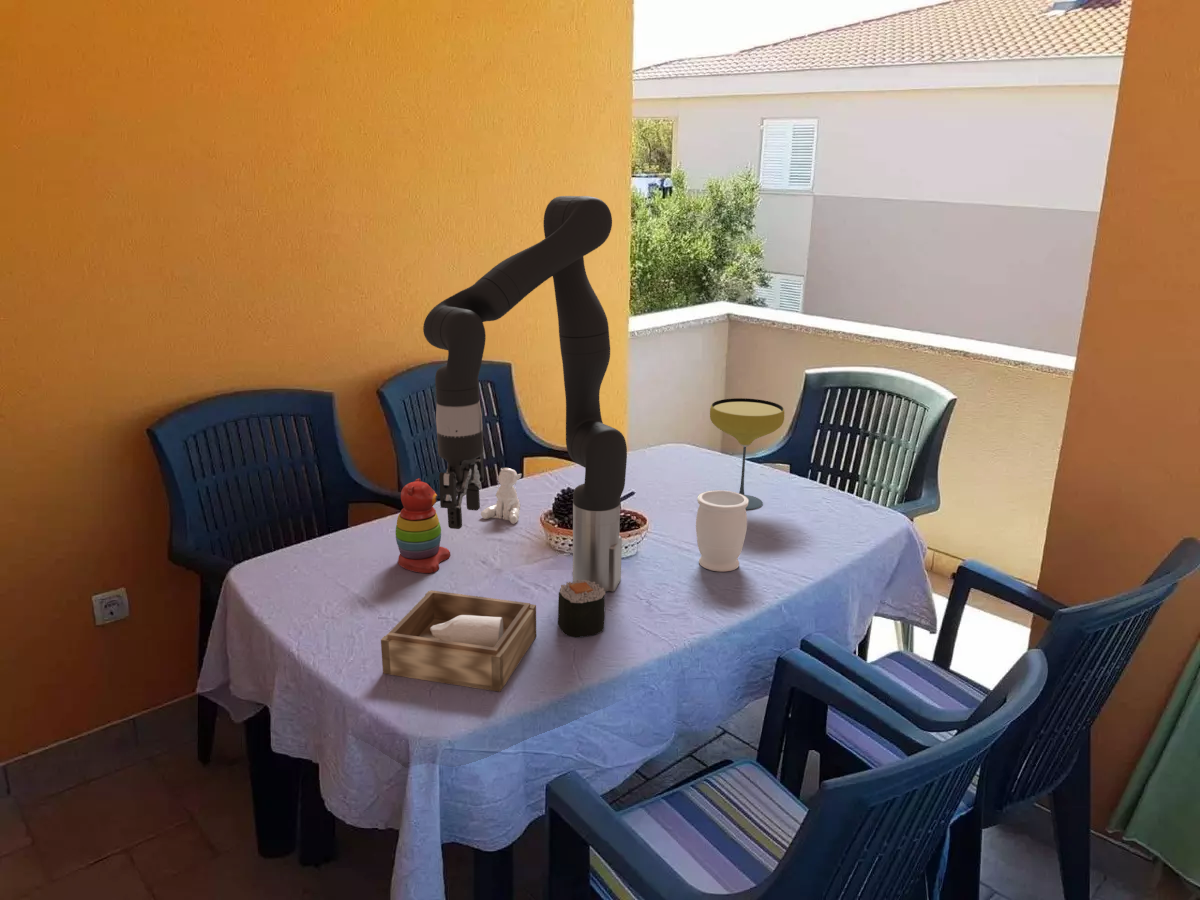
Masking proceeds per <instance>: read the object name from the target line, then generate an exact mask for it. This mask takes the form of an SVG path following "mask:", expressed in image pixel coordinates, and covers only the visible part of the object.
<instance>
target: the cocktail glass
mask: <svg viewBox="0 0 1200 900" xmlns="http://www.w3.org/2000/svg"><path fill="white" fill-rule="evenodd" d="M709 419H710V421H711V423H712V424H713V426H715V427H716V428H717V429H719V430H721V432H724V433H725V434H727V435H730V436H731V437H733V438H734V439H736V441H737V442H738V443H739V444H740V446H742V448H743V449H742V465H741V466H742V467H741V478H740V480H741V481H740V486H739V487H740V488H739V492H738V493H739V494H742V495H744V496H746V497H747V498H748V500H749V501H748V506H747V507H746V508H745V509H746V511H752V510H757V509H759V507H760V508H761V507H762V506H763V504H764V503H763V501H762V499H760V498H758V497H756V496H753V495H750V494H745V469H746V467H745V465H746V453H747V451H746V450H747V447H749V446H750V445H751V444H752V443H753V442H754V441H755V440H757V439H759V438H761V437H764V436H767V435H769V434H772V433H774V432H776V431H777V430H778V429H780V428H781V427H782V425H783V424H784V421H785V409H784V407H783V406H782V405H780V404H778V403H776V402H773V401H770V400H763V399H759V398H745V397H744V398H742V397H738V398H734V397H733V398H725V399H721V400H716V401H714V402H712V403H711V406H710V408H709Z"/></svg>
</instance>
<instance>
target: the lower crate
mask: <svg viewBox="0 0 1200 900" xmlns="http://www.w3.org/2000/svg"><path fill="white" fill-rule="evenodd" d="M430 591H431V590H428V591H427V592H426V593H425V595H424V596H423V597H422V598H421V599H420V600H419V601H418V602H417V603H416V604H415V605H414V607H415V606H416V605H417V604H418V603H419V602H420V601H421V600H422V599H423V598H424V597H425V596H426V595H427V594H428V593H429V592H430ZM414 607H412V609H413V608H414ZM394 628H395V626H394V627H393V628H392V629H391V630H390V631H389V632H388V633H387V634H386V635H384V636H382V638H381V639H380V647H381V648H380V651H381V664H382V674H385V675H391V676H396V677H403V678H410V679H415V680H422V681H427V682H428V681H429V682H435V683H441V684H449V685H453V686H461V687H467V688H473V689H479V690H487V691H493V692H499V693H501V691H502V690H503V689H504V687H505V685H507V683H508V681H509V679H510V678H511V676H512V675H513V673H514V671H515V670H516V669H517V667H518V666H519V664H520V663H521V661H522V659H523V658H524V656H525V655H526V653H527V652H528V650H529V649H530V647H531V646H532V643H533V642H534V641H535V639H536V638H537V605H536V604H531V603H530V608H529V610H528V611H527V613H526V614H525V616H524V617H523V619H522V620H521V621H520V623H519V624H518V626H517V627H516V628H515V630H514V631H513V633H512V634H511V636H510V637H509V638H508V640H507V641H506V643H505V644H504V646H503V647H502V648H501V650H500V651H499V652H498V653H497V654H485V653H478V652H471V651H465V650H458V649H451V648H444V647H437V646H431V645H424V644H417V643H410V642H403V641H397V640H391V639H390V638H388V637H387V635H388V634H389V633H390V632H391V631H392V630H393V629H394Z"/></svg>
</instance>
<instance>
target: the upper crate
mask: <svg viewBox="0 0 1200 900" xmlns="http://www.w3.org/2000/svg"><path fill="white" fill-rule="evenodd" d="M429 591H430V592H429V593H428V594H427V595H426V596H425V595H424V596H425V597H424V596H423V597H424V598H423V597H422V598H423V599H422V598H421V599H422V600H421V599H420V600H421V601H420V600H419V601H420V602H419V601H418V602H419V603H418V602H417V603H418V604H417V603H416V604H417V605H416V604H415V605H416V606H415V605H414V606H415V607H414V608H413V607H412V609H411V610H409V612H408V613H406V614H405V616H404V617H403V618H401V620H400V621H398V622H397V624H396V625H395V626H394V627H395V628H394V627H393V628H394V629H393V628H392V629H393V630H392V629H391V630H392V631H391V630H390V631H391V632H390V631H389V632H390V633H389V632H388V633H389V634H388V633H387V634H388V635H387V634H386V635H387V637H388V638H390V639H391V640H397V641H403V642H410V643H417V644H424V645H431V646H437V647H444V648H451V649H458V650H465V651H471V652H478V653H485V654H497V653H498V652H499V651H500V650H501V648H502V647H503V646H504V644H505V643H506V641H507V640H508V638H509V637H510V636H511V634H512V633H513V631H514V630H515V628H516V627H517V626H518V624H519V623H520V621H521V620H522V619H523V617H524V616H525V614H526V613H527V611H528V610H529V608H530V604H531V603H530V602H523V601H516V600H509V599H508V600H507V599H501V598H491V597H484V596H477V595H472V594H471V595H468V594H463V593H454V592H447V591H446V592H445V591H439V590H429ZM459 615H473V616H489V617H502V619H503V635H502V637H501V638H500V639H499V641H498V642H497V643H496V645H495V646H494V648H493V647H487V646H480V645H473V644H466V643H459V642H452V641H445V640H440V639H439V638H437V637H435V636H433V635H432V632H431V631H430V628H431V627H432V626H433V625H437V624H442V623H445V622H447V621H449V620H451V619H453V618H455V617H457V616H459Z"/></svg>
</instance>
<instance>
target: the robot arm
mask: <svg viewBox="0 0 1200 900" xmlns="http://www.w3.org/2000/svg"><path fill="white" fill-rule="evenodd" d="M612 227H613V217H612V213H611V209H610V208H609V206H608V204H607V203H606V202H604V200H602V199H600V198H598V197H593V196H589V195H579V196H578V195H561V196H556V197H554V198H552V199H551V200H550V201H549V202H548V204H547V206H546V207H545V210H544V215H543V234H544V239H542V240H540V241H539V242H537V243H536V244H533V245H531V246H529V247H527V248H525V249H523V250H521V251H519V252H517V253H515V254H513V255H511V256H509V257H507V258H505V259H503V260H501V261H500V262H499V263H497V265H494V266H493V267H492V268H491V269H490V270H489V271H488V272H486V273H485V274H484V275H482V277H480V278H479V279H478V280H476V282H475V283H473V284H472V285H471V286H469V287H466V288H465V289H462V290H460V291H458V292H457V293H455V294H453V295H451V296H449V297H447V298H446V299H444V300H442V301H440V302H439V303H438V304H436V305H435V306H434V307H432V308H431V310H430V311H428V312H429V313H427V315H426V317H425V319H424V323H423V331H422V332H423V335H424V338H425V340H426V341H427V342H428V343H429V344H430V345H431V346H433V347H434V348H438V349H440V350H445V351H447V352H448V353H447V361H446V362H447V363H446V365H445V364H444V365H441V366H440V367H439V368H438V369H437V370H436V372H435V377H434V378H435V379H434V382H435V383H434V384H435V398H436V399H435V400H436V409H435V410H436V411H435V423H436V438H437V452H438V453H437V454H438V456H439V458H442V459H443V460H445V461H446V462H447V469H446V472H439V480H438V481H439V504H440V508H442V509H446V511H447V522H448V523H447V525H448V528H449V529H454V530H460V529H461V528H462V527H463V516H462V515H463V513H462V502H463V497H464V496H466V497H465V500H466V509H467V510H468V511H479V509H480V508H481V502H480V500H481V499H480V498H481V497H480V489H481V486H482V484H481V483H483V482H484V481H485V470H484V469H485V468H484V456H483V455H484V450H485V449H484V432H483V414H482V413H483V412H482V407H481V403H480V402H481V401H480V383H479V376H480V371H481V367H482V362H483V357H484V351H485V346H486V338H487V337H486V328H485V326H484V323H486V322H494V321H498V320H500V319H501V318H502V317H504V316H505V315H506V314H507V313H509V312H510V311H511V310H512V309H513V308H515V307H516V306H517V305H518V304H519V303H520V302H521V301H522V300H523V299H524V298H526V297H527V296H528V295H529V294H530V293H532V292H533V291H534V290H535V289H537V288H538V287H539V286H541V285H542V284H544V283H546V281H548V280H549V279H550V278H552V279H553V287H554V288H553V289H554V296H555V297H554V298H555V304H556V312H557V320H558V322H557V323H558V336H559V337H558V338H559V346H560V347H559V348H560V355H561V359H562V360H561V361H562V371H563V373H562V374H563V385H564V393H565V444H566V446H565V447H566V450H567V453H568V455H569V458H570V459H571V460H572V461H573V462H574V463H575V464H577V465H579V466H581V467H583V468H585V472H584V483H581V484H579V485H578V486H576V487H575V489H574V490H573V495H572V496H573V497H572V582H573V581H574V582H576V580H577V579H579V580H580V581H581V580H587V581H590V582H595V585H596V584H599V586H598V587H600V588H604V590H603V591H605V592H615V591H616V589H617V587H618V586H619V583H620V582H621V579H622V550H623V549H622V548H623V547H622V544H623V543H622V542H623V540H622V539H623V537H622V536H621V535H620V522H621V520H620V519H621V497H622V494H623V492H624V489H625V484H626V473H627V460H628V459H627V458H628V450H627V449H628V446H627V441H626V438H625V436H624V434H623V433H622V432H621V431H620V430H618V429H617V428H614V427H612V426H610V425H608V424H606V423H604V422H603V418H602V414H601V413H602V412H601V403H600V391H601V386H602V383H603V381H604V378H605V374H606V373H607V369H608V367H609V363H610V357H611V341H610V328H609V321H608V317H607V315H606V312H605V310H604V308H603V306H602V304H601V302H600V299H599V298H598V296H597V294H596V292H595V291H594V289H593V287H592V284H591V283H590V281H589V278H588V275H587V272H586V268H585V267H586V266H585V260H584V256H586V255H588V254H590V253H592V252H594V251H595V250H596V249H598V248H599V247H601V246H602V245H604V243H605V242H606V241H607V239H609V236H610V234H611V231H612Z"/></svg>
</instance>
